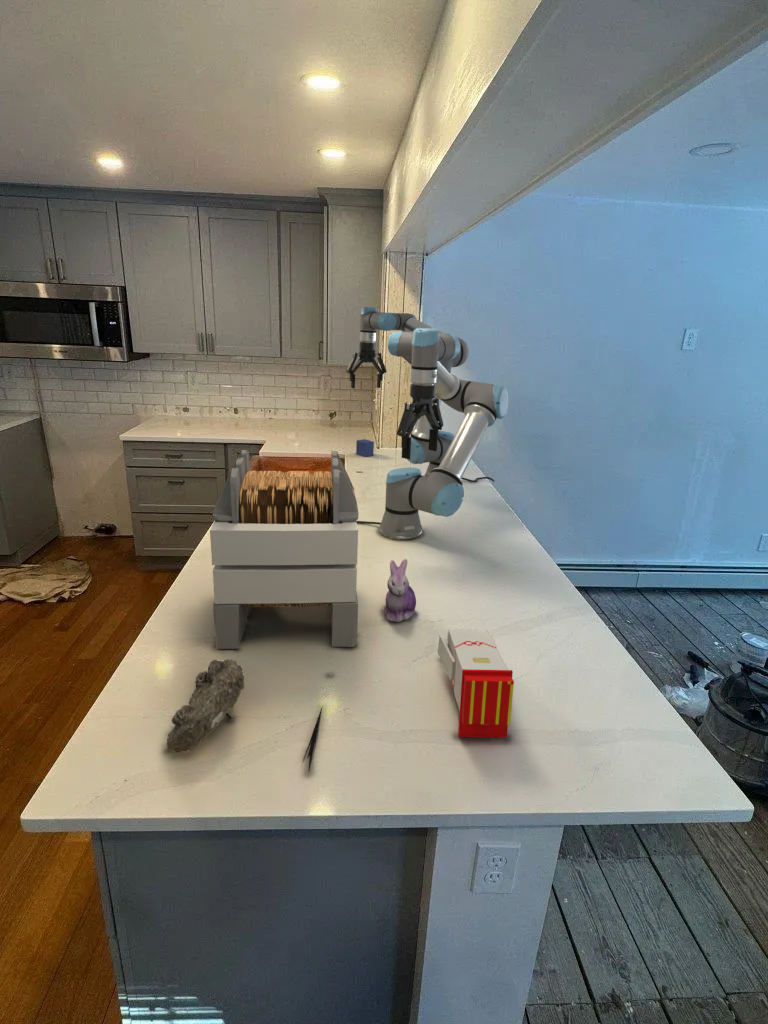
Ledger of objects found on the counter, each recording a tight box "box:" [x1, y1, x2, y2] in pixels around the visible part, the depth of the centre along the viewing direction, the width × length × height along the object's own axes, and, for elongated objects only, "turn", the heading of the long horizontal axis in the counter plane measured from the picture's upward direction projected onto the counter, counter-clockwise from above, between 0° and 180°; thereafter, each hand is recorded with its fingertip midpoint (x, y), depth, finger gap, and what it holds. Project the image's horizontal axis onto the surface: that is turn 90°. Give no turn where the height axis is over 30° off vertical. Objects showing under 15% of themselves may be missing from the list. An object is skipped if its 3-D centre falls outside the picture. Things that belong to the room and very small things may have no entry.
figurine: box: [384, 558, 417, 623], centre depth 145 cm, size 9×10×15 cm
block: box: [355, 438, 375, 458], centre depth 303 cm, size 6×7×8 cm
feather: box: [301, 673, 332, 771], centre depth 108 cm, size 2×28×2 cm
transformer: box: [209, 449, 360, 651], centre depth 139 cm, size 34×33×41 cm
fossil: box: [166, 658, 245, 754], centre depth 106 cm, size 22×10×15 cm
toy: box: [437, 628, 515, 738], centre depth 117 cm, size 12×13×30 cm
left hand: (419, 454), depth 173 cm, fingers open, 13 cm apart
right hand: (365, 387), depth 272 cm, fingers open, 13 cm apart
